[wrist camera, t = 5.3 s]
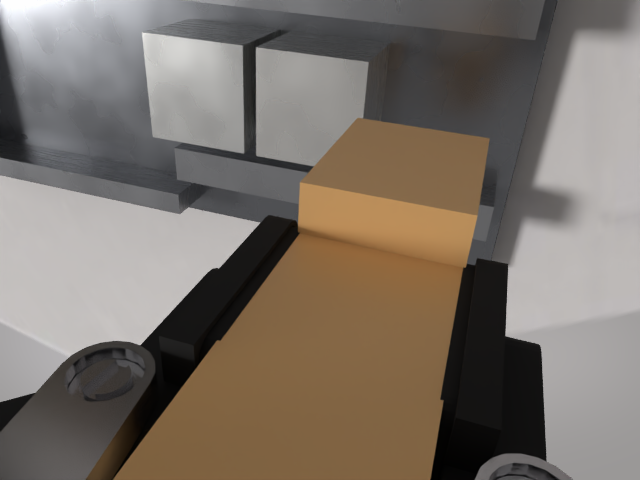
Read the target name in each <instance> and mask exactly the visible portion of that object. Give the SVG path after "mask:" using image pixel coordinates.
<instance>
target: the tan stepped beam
mask: <svg viewBox="0 0 640 480" xmlns="http://www.w3.org/2000/svg"><path fill="white" fill-rule="evenodd" d="M489 139H490V138H485V137H479V136H472V135H466V134H459V133H453V132H446V131H440V130H434V129H427V128H421V127H414V126H408V125H401V124H395V123H389V122H382V121H376V120H369V119H363V118H357V119H356V120H355V121H354V122H353V123H352V124H351V126H350V127H349V128H348V129H347V130H346V131H345V132H344V133H343V135H342V136H341V137H340V138H339V139H338V140H337V141H336V142H335V144H334V145H333V146H332V147H331V148H330V149H329V150H328V151H327V152H326V154H325V155H324V156H323V157H322V158H321V159H320V160H319V161H318V163H317V164H316V165H315V166H314V167H313V168H312V169H311V170H310V172H309V173H308V174H307V175H306V176H305V177H304V178H303V179H302V180H301V182H300V193H299V215H298V232H299V233H300V234H299V235H298V236H297V238H296V239H295V241H294V242H293V243H292V245H291V246H290V247H289V249H288V250H287V251H286V253H285V254H284V255H283V257H282V258H281V259H280V261H279V262H278V264H277V265H276V266H275V268H274V269H273V270H272V272H271V273H270V274H269V276H268V277H267V278H266V280H265V281H264V282H263V284H262V285H261V287H260V288H259V289H258V291H257V292H256V293H255V295H254V296H253V297H252V299H251V300H250V301H249V303H248V304H247V305H246V307H245V308H244V310H243V311H242V312H241V314H240V315H239V316H238V318H237V319H236V320H235V322H234V323H233V324H232V326H231V327H230V328H229V330H228V331H227V333H226V334H225V335H224V337H223V338H222V339H221V341H219V340H217V341H216V343H215V344H214V345H213V347H212V348H211V349H210V351H209V352H208V353H207V355H206V356H205V357H204V359H203V360H202V361H201V363H200V364H199V365H198V367H197V368H196V369H195V371H194V372H193V373H192V375H191V376H190V377H189V379H188V380H187V381H186V383H185V384H184V385H183V387H182V388H181V389H180V391H179V392H178V393H177V395H176V396H175V397H174V399H173V400H172V401H171V403H170V404H169V405H168V407H167V408H166V409H165V411H164V412H163V413H162V415H161V416H160V417H159V419H158V420H157V421H156V423H155V424H154V425H153V427H152V428H151V429H150V431H149V432H148V433H147V435H146V436H145V437H144V439H143V440H142V441H141V443H140V444H139V445H138V447H137V448H136V449H135V451H134V452H133V453H132V455H131V456H130V457H129V459H128V460H127V461H126V463H125V464H124V465H123V467H122V468H121V469H120V471H119V472H118V473H117V475H116V476H115V477H114V479H113V480H430V479H431V473H432V467H433V461H434V455H435V449H436V443H437V437H438V431H439V425H440V419H441V413H442V407H443V401H444V400H440V397H441V391H442V386H443V380H444V374H445V369H446V363H447V357H448V352H449V346H450V340H451V334H452V329H453V323H454V317H455V312H456V306H457V300H458V295H459V289H460V283H461V277H462V272H463V267H464V268H466V264H467V260H468V256H469V251H470V247H471V243H472V238H473V234H474V230H475V225H476V221H477V216H478V210H479V204H480V197H481V191H482V184H483V178H484V172H485V165H486V159H487V152H488V146H489Z"/></svg>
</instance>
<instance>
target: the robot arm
mask: <svg viewBox="0 0 640 480" xmlns="http://www.w3.org/2000/svg"><path fill="white" fill-rule="evenodd" d="M299 234H300V233H299V232H298V224H297V222H296V220H292V219H287V218H282V217H277V216H272V215H268V216H267V217H265V219H264V220H263V221H262V222H261V223H260V224H259V225H258V226H257V227H256V229H255V230H254V231H253V232H252V233H251V234H250V235H249V236H248V237H247V238H246V240H245V241H244V242H243V243H242V244H241V245H240V246H239V247H238V248H237V250H236V251H235V252H234V253H233V254H232V255H231V256H230V257H229V258H228V260H227V261H226V262H225V263H224V264H223V265H222V266H221V267H220V268H219V269H218V268H215V269H212V270H211V271H209V272H208V273H207V274H206V275H205V276H204V277H203V278H202V279H201V280H200V282H199V283H198V284H197V285H196V286H195V287H194V288H193V289H192V290H191V291H190V292H189V293H188V295H187V296H186V297H185V298H184V299H183V300H182V301H181V302H180V303H179V304H178V305H177V306H176V308H175V309H174V310H173V311H172V312H171V313H170V314H169V315H168V316H167V317H166V318H165V319H164V320H163V322H162V323H161V324H160V325H159V326H158V327H157V328H156V329H155V330H154V331H153V332H152V333H151V335H150V336H149V337H148V338H147V339H146V340H145V341H144V342H143V343H142V344H141V345H137V344H134V343H131V342H122V341H112V342H103V343H99V344H95V345H92V346H89V347H86V348H84V349H82V350H80V351H78V352H77V353H75V354H73V355H72V356H70V357H69V358H68V359H67V360H66V361H65V362H63V363H62V364H61V365H60V367H59V368H58V369H57V370H56V371H55V372H54V373H53V374H52V375H51V376H50V378H49V379H48V380H47V381H46V382H45V383H44V384H43V385H42V386H41V388H40V389H39V390H38V391H37V392H36V393H33V394H29V395H26V396H22V397H18V398H14V399H11V400H7V401H3V402H0V480H113V479H114V477H115V476H116V475H117V473H118V472H119V471H120V469H121V468H122V467H123V465H124V464H125V463H126V461H127V460H128V459H129V457H130V456H131V455H132V453H133V452H134V451H135V449H136V448H137V447H138V445H139V444H140V443H141V441H142V440H143V439H144V437H145V436H146V435H147V433H148V432H149V431H150V429H151V428H152V427H153V425H154V424H155V423H156V421H157V420H158V419H159V417H160V416H161V415H162V413H163V412H164V411H165V409H166V408H167V407H168V405H169V404H170V403H171V401H172V400H173V399H174V397H175V396H176V395H177V393H178V392H179V391H180V389H181V388H182V387H183V385H184V384H185V383H186V381H187V380H188V379H189V377H190V376H191V375H192V373H193V372H194V371H195V369H196V368H197V367H198V365H199V364H200V363H201V361H202V360H203V359H204V357H205V356H206V355H207V353H208V352H209V351H210V349H211V348H212V347H213V345H214V344H215V343H216V341H217V340H219V341H221V339H222V338H223V337H224V335H225V334H226V333H227V331H228V330H229V328H230V327H231V326H232V324H233V323H234V322H235V320H236V319H237V318H238V316H239V315H240V314H241V312H242V311H243V310H244V308H245V307H246V305H247V304H248V303H249V301H250V300H251V299H252V297H253V296H254V295H255V293H256V292H257V291H258V289H259V288H260V287H261V285H262V284H263V282H264V281H265V280H266V278H267V277H268V276H269V274H270V273H271V272H272V270H273V269H274V268H275V266H276V265H277V264H278V262H279V261H280V259H281V258H282V257H283V255H284V254H285V253H286V251H287V250H288V249H289V247H290V246H291V245H292V243H293V242H294V241H295V239H296V238H297V236H298V235H299ZM507 280H508V264H505V263H500V262H495V261H490V260H485V259H481V258H477V260H476V264H475V265H471V264H466V268H464V267H463V272H462V277H461V283H460V289H459V295H458V300H457V306H456V312H455V317H454V323H453V329H452V334H451V340H450V346H449V352H448V357H447V363H446V369H445V374H444V380H443V386H442V391H441V397H440V400H444V401H443V407H442V413H441V419H440V425H439V431H438V437H437V443H436V449H435V455H434V461H433V467H432V473H431V479H430V480H573V479H572V478H571V477H569V476H568V475H567V474H566V473H564V472H563V471H561V470H560V469H559V468H558V467H556V466H554V465H552V464H550V463H548V462H546V441H545V420H544V399H543V379H542V357H541V347H540V345H539V344H535V343H531V342H527V341H522V340H518V339H514V338H510V337H506V336H505V329H506V304H507Z"/></svg>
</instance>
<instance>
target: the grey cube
mask: <svg viewBox="0 0 640 480" xmlns="http://www.w3.org/2000/svg"><path fill="white" fill-rule="evenodd" d="M389 50H390V43H386V42H378V41H370V40H362V39H353V38H345V37H337V36H329V35H321V34H312V33H304V32H296V31H290V32H288V33H286V34H284V35H282V36H279V37H277V38H275V39H273V40H271V41H269V42H266V43H264V44H262V45H260V46H258V47H256V156H260V157H265V158H271V159H276V160H282V161H287V162H293V163H298V164H304V165H309V166H315V165H316V164H317V163H318V161H319V160H320V159H321V158H322V157H323V156H324V155H325V154H326V152H327V151H328V150H329V149H330V148H331V147H332V146H333V145H334V144H335V142H336V141H337V140H338V139H339V138H340V137H341V136H342V135H343V133H344V132H345V131H346V130H347V129H348V128H349V127H350V126H351V124H352V123H353V122H354V121H355V120H356V119H357V118H363V119H369V120H376V121H381V118H382V110H383V101H384V93H385V84H386V76H387V67H388V59H389Z"/></svg>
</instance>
